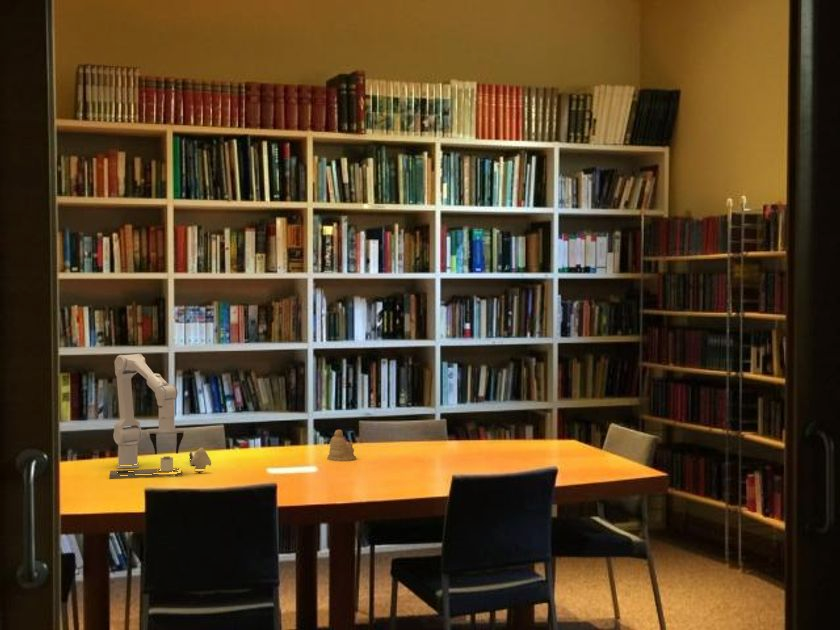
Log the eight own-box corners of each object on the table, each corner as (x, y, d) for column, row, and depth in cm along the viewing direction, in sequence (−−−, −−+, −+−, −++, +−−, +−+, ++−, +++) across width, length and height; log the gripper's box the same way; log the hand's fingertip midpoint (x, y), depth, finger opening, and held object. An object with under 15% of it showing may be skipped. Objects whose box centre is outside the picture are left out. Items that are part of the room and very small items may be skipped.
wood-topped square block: (160, 472, 402) (160, 456, 402) (172, 471, 403) (172, 455, 403) (160, 474, 398) (160, 458, 398) (173, 473, 399) (173, 457, 399)
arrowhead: (190, 474, 402) (189, 447, 401) (189, 473, 404) (189, 446, 404) (211, 473, 404) (211, 447, 403) (211, 472, 406) (211, 446, 406)
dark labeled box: (209, 459, 437) (209, 449, 437) (213, 470, 412) (213, 460, 412) (173, 461, 433) (173, 450, 433) (174, 472, 409) (174, 461, 409)
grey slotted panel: (110, 474, 400) (110, 470, 400) (181, 472, 406) (181, 467, 406) (109, 478, 392) (109, 474, 392) (182, 475, 398) (182, 471, 398)
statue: (316, 434, 432) (331, 424, 440) (323, 466, 436) (337, 455, 444) (340, 437, 425) (354, 427, 433) (346, 469, 429) (361, 458, 437)
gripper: (146, 419, 394) (146, 455, 395) (186, 418, 398) (186, 454, 399) (146, 416, 401) (146, 452, 402) (186, 415, 405) (186, 451, 405)
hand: (166, 453), depth 401 cm, fingers open, 7 cm apart
